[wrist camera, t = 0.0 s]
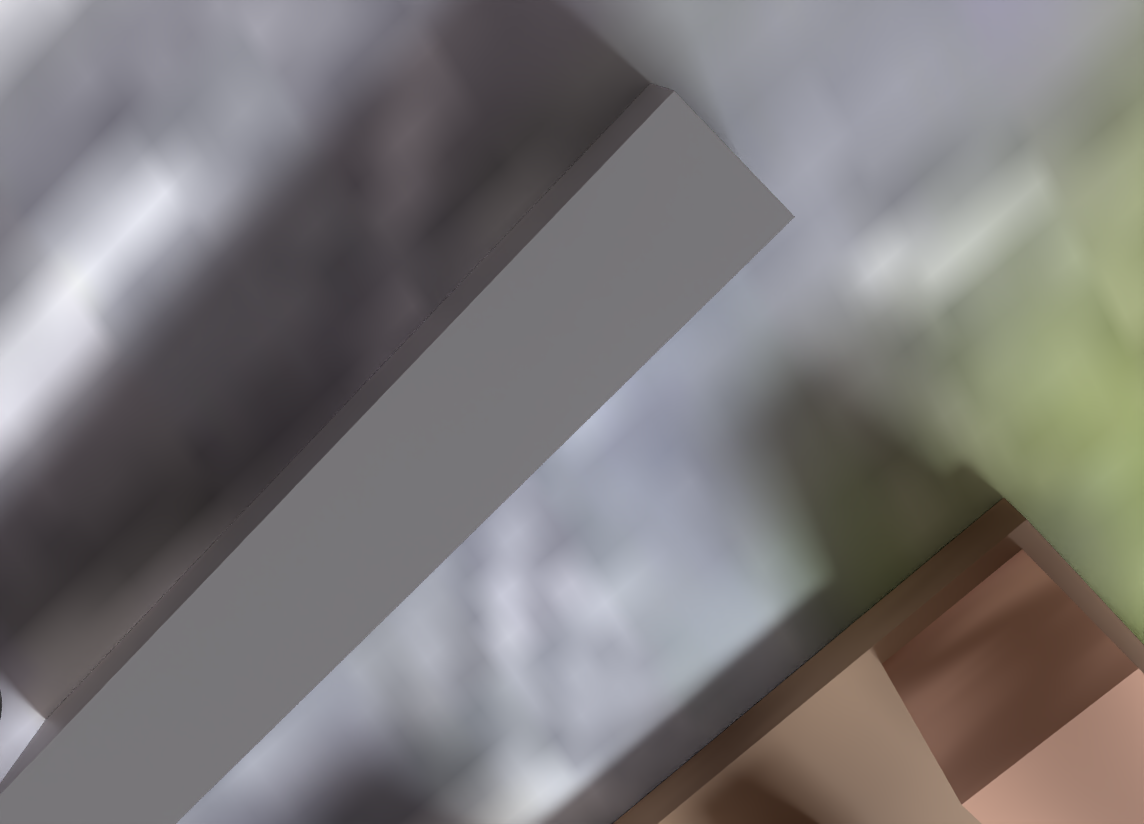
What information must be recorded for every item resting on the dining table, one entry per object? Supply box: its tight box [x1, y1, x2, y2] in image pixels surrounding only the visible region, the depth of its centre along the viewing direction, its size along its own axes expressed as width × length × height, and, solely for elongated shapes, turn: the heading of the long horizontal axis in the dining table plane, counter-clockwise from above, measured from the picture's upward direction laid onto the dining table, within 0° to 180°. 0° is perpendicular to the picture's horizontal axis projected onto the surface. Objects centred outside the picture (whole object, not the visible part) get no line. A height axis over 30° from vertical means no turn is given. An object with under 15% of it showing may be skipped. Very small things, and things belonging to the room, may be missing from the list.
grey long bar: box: [0, 83, 794, 824], centre depth 22 cm, size 20×3×4 cm, turn 136°
